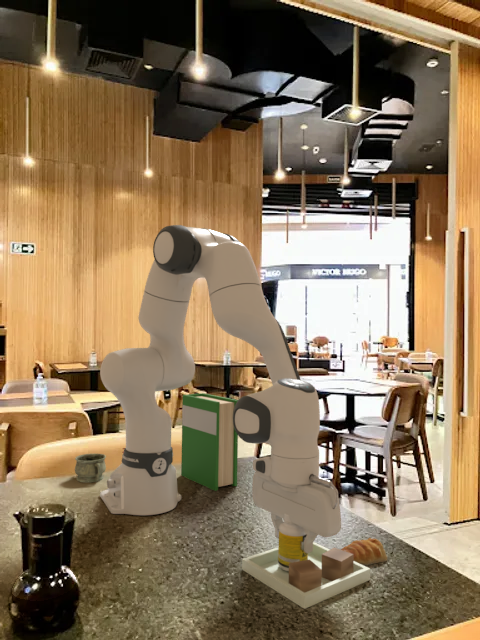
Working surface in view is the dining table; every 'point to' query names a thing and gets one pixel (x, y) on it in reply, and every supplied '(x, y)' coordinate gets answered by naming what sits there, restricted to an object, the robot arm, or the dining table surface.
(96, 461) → the vessel
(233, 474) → the hardback book
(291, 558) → the supplement bottle
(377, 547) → the pastry
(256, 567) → the tray
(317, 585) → the walnut block
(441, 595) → the dining table surface
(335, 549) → the walnut block
